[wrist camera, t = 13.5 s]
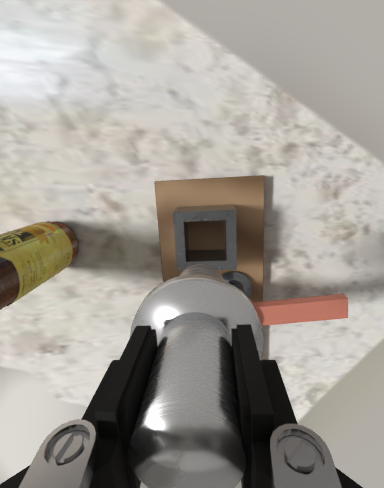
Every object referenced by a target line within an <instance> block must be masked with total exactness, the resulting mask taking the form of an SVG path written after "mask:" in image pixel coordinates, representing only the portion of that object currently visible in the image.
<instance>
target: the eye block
mask: <svg viewBox="0 0 384 488" xmlns="http://www.w3.org/2000/svg"><path fill="white" fill-rule="evenodd" d="M216 220H224V233H225V249H220V250H189V241H188V225H187V222H192V221H216ZM173 224H174V237H175V251H176V264H177V271H184V270H185V269H187V268H188V267H190V266H193V265H199V264H200V265H208V266H210V267H213V268H214V269H216V270H237V244H236V208H235V207H234V205H233V204H228V205H207V206H185V207H177V208H176V209H175V210H174V211H173Z"/></svg>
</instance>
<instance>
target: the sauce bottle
mask: <svg viewBox="0 0 384 488" xmlns="http://www.w3.org/2000/svg"><path fill="white" fill-rule="evenodd" d="M77 253H78V243H77V239H76V237H75V235H74V234H73V232H72V231H71V230H70V229H69V228H68V227H67V226H65V225H63V224H61V223H58V222H49V221H48V222H40V223H36V224H33V225H29V226H26V227H23V228H20V229H17V230H13V231H10V232H7V233H4V234H0V309H2V308H3V307H5V306H9V305H10V304H12V303H14V302H15V301H17V300H18V299H20V298H21V297H23V296H24V295H26V294H27V293H29V292H30V291H32V290H33V289H35V288H36V287H38V286H39V285H41V284H42V283H44V282H45V281H47V280H48V279H50V278H51V277H53V276H54V275H56V274H57V273H59V272H60V271H62V270H63V269H65V268H66V267H67V266H68V265H69V264H70V263H71V262H72V261H73V260H74V258H75V257H76V255H77Z"/></svg>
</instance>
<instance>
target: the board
mask: <svg viewBox="0 0 384 488" xmlns="http://www.w3.org/2000/svg"><path fill="white" fill-rule="evenodd" d="M154 184H155V195H156V206H157V217H158V228H159V239H160V250H161V261H162V272H163V282H165V281H167V280H169V279H172V278H175V277H179V276H180V274H181V273H182V272H183V271H177V264H176V251H175V237H174V224H173V211H174V210H175V209H176V208H177V207H185V206H207V205H228V204H233V205H234V207H235V208H236V244H237V270H217V271H218V272H219V273H220V274H221V275H222V274H223V273H225V272H228V271H239V272H241V273H243V274H245V275H246V276H247V277H248V278H249V280H250V282H251V284H252V294H251V296H250V298H249V299H250V300H251V301H252V302H262V293H263V235H264V176H263V175H262V176H244V177H226V178H208V179H189V180H171V181H155V182H154ZM187 225H188V241H189V250H220V249H225V233H224V220H216V221H192V222H187ZM261 327H262V326H261Z"/></svg>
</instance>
